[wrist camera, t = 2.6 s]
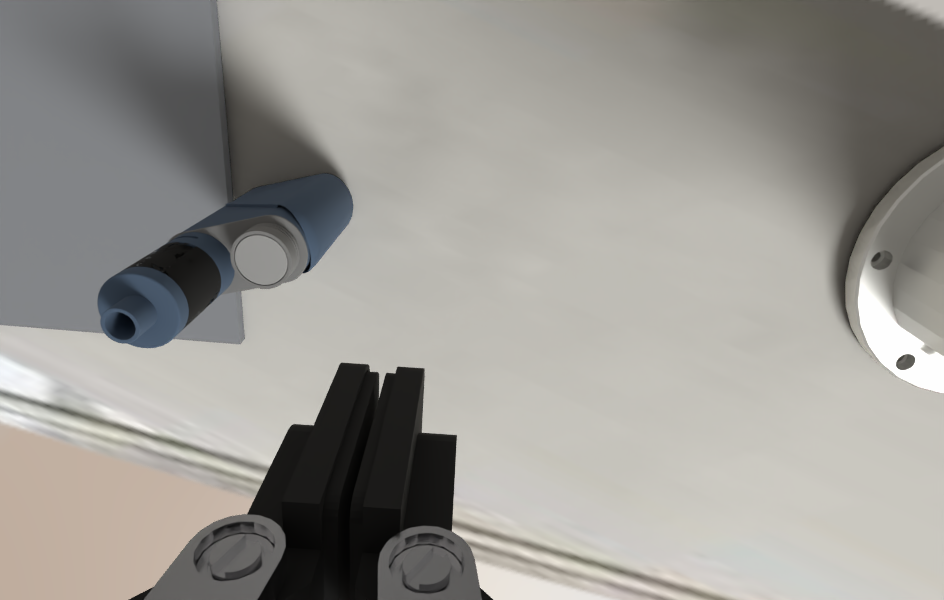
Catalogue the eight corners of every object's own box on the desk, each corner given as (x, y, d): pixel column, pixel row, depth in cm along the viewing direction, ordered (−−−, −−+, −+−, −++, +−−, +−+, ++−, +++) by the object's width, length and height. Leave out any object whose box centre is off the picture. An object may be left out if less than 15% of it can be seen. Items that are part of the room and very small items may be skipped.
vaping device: (235, 188, 27) (54, 290, 16) (347, 165, 26) (243, 253, 15) (254, 242, 28) (97, 374, 17) (363, 221, 27) (276, 343, 16)
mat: (214, -28, 23) (207, -29, 23) (244, 338, 30) (240, 344, 29) (-196, -62, 23) (-213, -64, 23) (-79, 312, 30) (-90, 317, 29)
